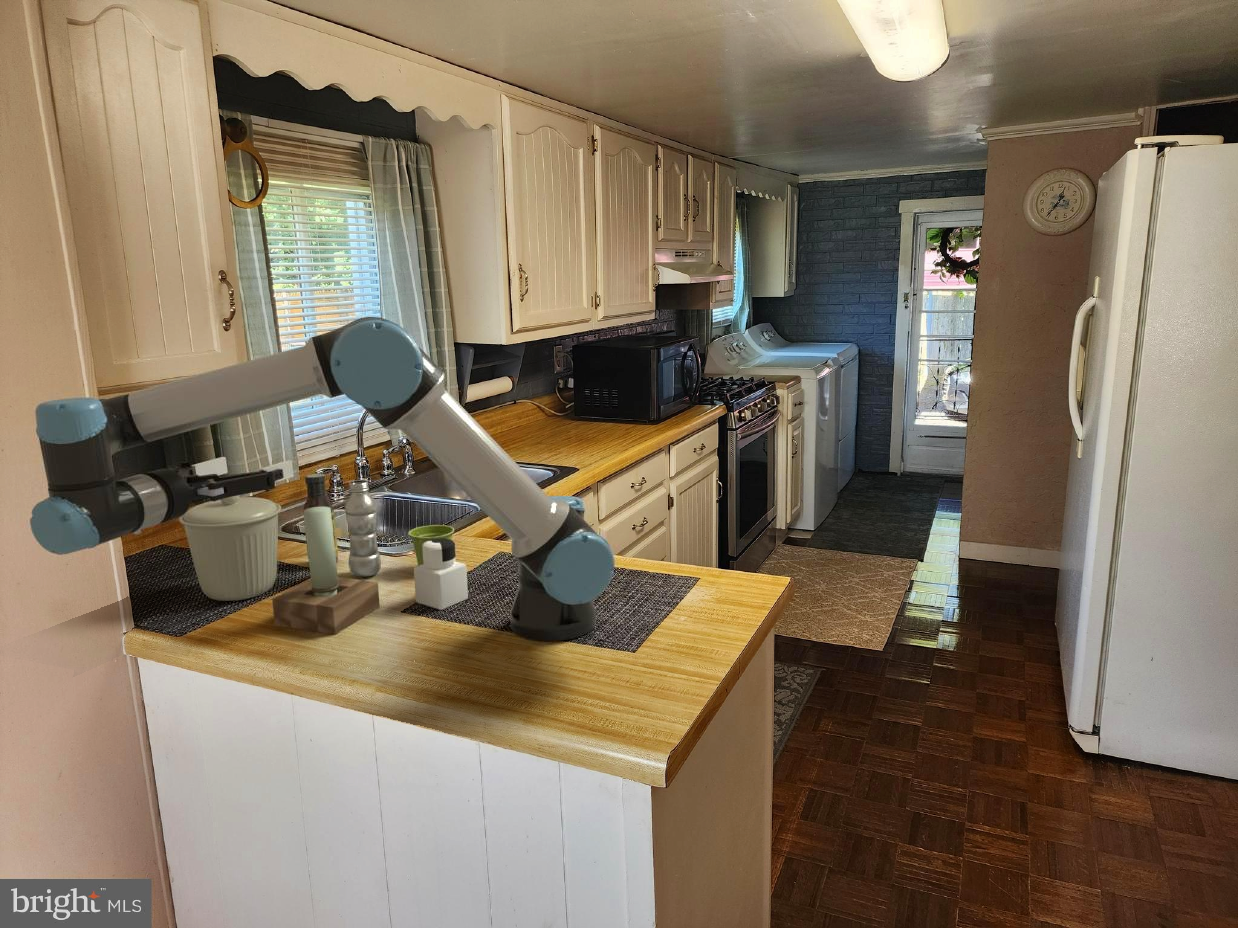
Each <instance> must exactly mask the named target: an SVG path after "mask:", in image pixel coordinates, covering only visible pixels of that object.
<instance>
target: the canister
mask: <svg viewBox="0 0 1238 928" xmlns="http://www.w3.org/2000/svg"><path fill="white" fill-rule="evenodd" d="M281 511H282V505H280V504H279V503H276V502H273V501H272V500H270V499H268V498H267V499H266V498H262V497H250V496H248V497H246V496H244V497H243V496H242V497H240V495H238V496H233V497H227V498H224V499H220V500H217V501H210V500H209V501H206V502H203V503H201V504H197V505H195V506H193V507H191V508H188V510H187V511H186V513H185V514H184V515H182V516H181V517H179V523H180V524H181V525H183V526H184V531H185V535H186V539H187V542H188V546H189V550H190V553H191V558H192V561H193V565H194V570H195V572H196V573H195V574H196V576H197V580H198V583H199V586H200V589H201V591H202V592H203V594H204V595H206V597H208V598H209V599H211V600H215V601H218V602H219V601H222V602H231V601H232V602H234V601H241V600H242V601H243V600H248V599H251V598H254V597H257V596H261V595H262V594H265V593H267V592H268V591H269V590H271V589H272V587H273V586H274V584H275V582H276V580H277V573H278V551H279V549H278V548H279V547H278V546H279V545H278V544H279V542H278V540H279V539H278V538H279V536H278V535H279V514H280V513H281Z"/></svg>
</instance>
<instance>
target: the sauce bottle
mask: <svg viewBox="0 0 1238 928" xmlns="http://www.w3.org/2000/svg"><path fill="white" fill-rule="evenodd" d="M304 476H305V477H304V478H305V479H304V480H305V481H304V482H305V484H306V491H307V493H306V495H307V499H306V501H305V503H304V506H303V511H304V510H306V509H308V508H313V507H330V508H331V517H332V527H333V536H334V546H335V555H336V565H337V563H338V562H339V549H338V548H339V547H338V538H337V536H338V535H337V526H336V519H335V518H336V517H335V509H334V506H333V505H332V503H331V501H330V499H329V497H328V495H327V489H326V480H327V479H326V474H325V473H311V474H307V475H304ZM303 522H304V521H303ZM304 525H305V522H304ZM304 533H305V535H306V531H305V530H304ZM305 541H306V542H305V543H306V544H307V540H306V539H305ZM306 551H307V554H308V549H307V548H306ZM307 559H308V560H309V558H308V557H307Z"/></svg>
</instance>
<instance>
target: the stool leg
mask: <svg viewBox="0 0 1238 928" xmlns="http://www.w3.org/2000/svg"><path fill="white" fill-rule="evenodd" d="M302 512H303V522H305V524H304V532H305V531H306V534H305V541H306V540H307V543H306V550H307V549H308V553H307V559H308V558H309V559H308V563H309V565H308V566H309V575H310V580H311V584H312V591H313V592H315V596H320V597H328V598H330V597H331V596H333V595H335V594H337V589H338V588H339V583H338V577H339V576H338V566H337V564H336V555H335V546H334V536H333V527H332V517H331V508H330V507H313V508H308V509H306V510H304V509H303V511H302Z"/></svg>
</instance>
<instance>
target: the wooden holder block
mask: <svg viewBox="0 0 1238 928" xmlns="http://www.w3.org/2000/svg"><path fill="white" fill-rule="evenodd" d="M338 583H339V588H338V589H337V594H335V595H333V596H331V597H330V598H328V597H320V596H315V592H313V591H312V584H311V579H309V580H308V581H305V582H304V583H303V582H302V584H300V585H297V586H296V587H293V588H291V589H289V590H287V591H285V592H284V593H282V594H280V595H278V596H276V597H273V598H271V601H272V602H271V603H272V610H273V619H274V626H276V627H284V628H290V629H297V630H304V631H311V632H315V633H316V632H317V633H322V634H323V633H324V634H331V635H337V634H339V633H340V632H341V631H344V630H345V629H347V628H349V627H350V626H352V625H353V624H355V623H357V622H358V621H360V620H361V619H364V617H365V618H366V616H368V615H370V614H371V613H373V612H375V611H376V610H378V609H380V607H381V606H380V593H379V592H380V591H379V582H378V581H373V580H363V579H354V578H348V577H347V578H346V577H339V576H338Z"/></svg>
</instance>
